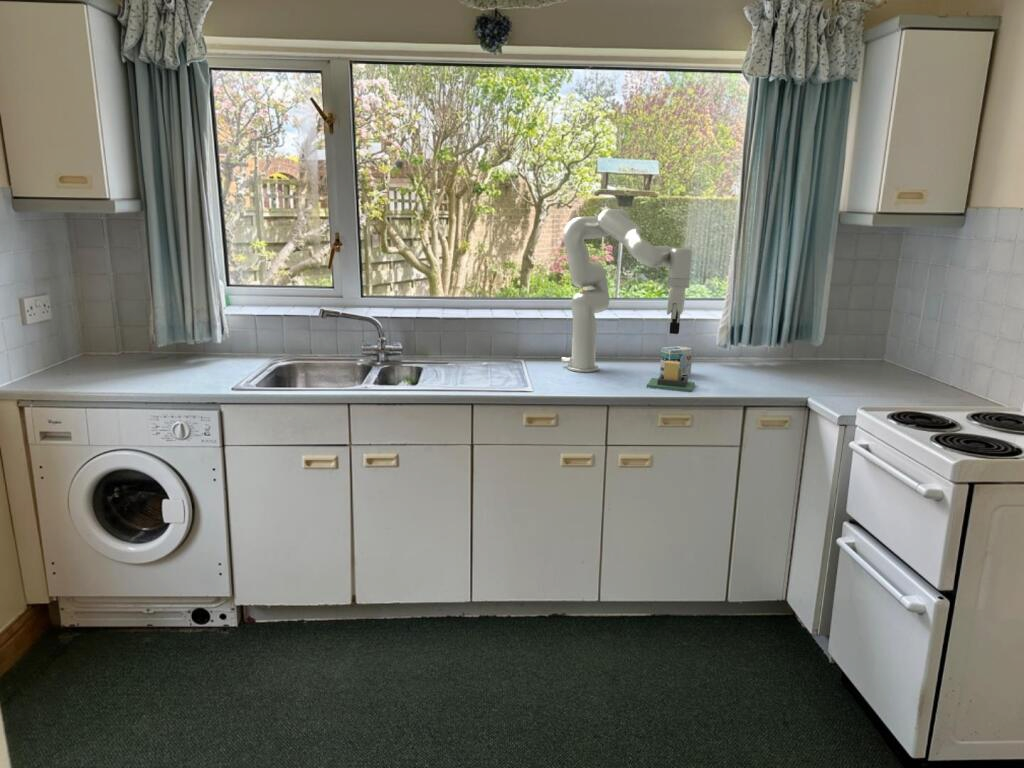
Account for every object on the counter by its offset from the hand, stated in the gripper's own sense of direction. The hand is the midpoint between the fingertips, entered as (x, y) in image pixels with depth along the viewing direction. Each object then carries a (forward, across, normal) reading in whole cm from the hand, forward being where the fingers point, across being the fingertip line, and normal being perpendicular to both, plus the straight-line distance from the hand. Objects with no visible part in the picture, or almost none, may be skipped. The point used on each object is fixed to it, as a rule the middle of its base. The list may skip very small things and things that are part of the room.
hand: (674, 333), depth 265 cm
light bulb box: (+20, -20, 0) cm, 28 cm away
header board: (+20, 0, 0) cm, 20 cm away
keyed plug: (+19, 0, 0) cm, 19 cm away
